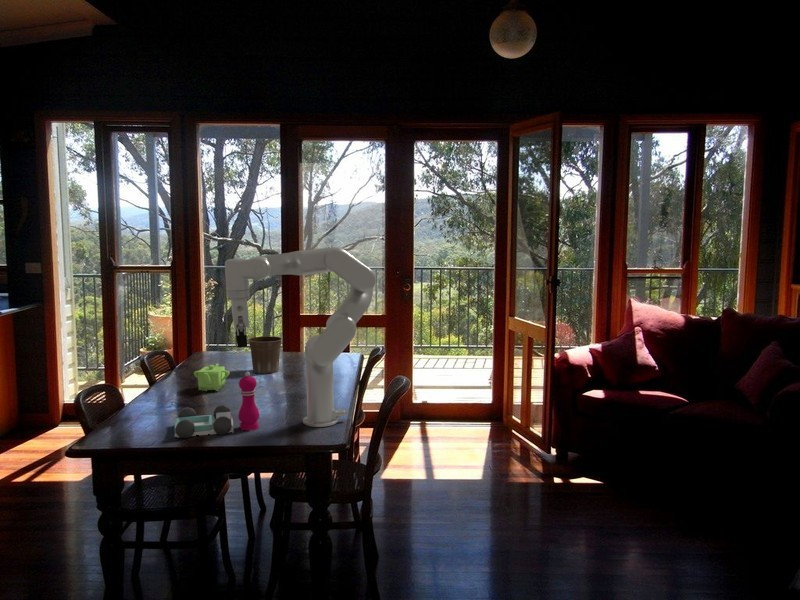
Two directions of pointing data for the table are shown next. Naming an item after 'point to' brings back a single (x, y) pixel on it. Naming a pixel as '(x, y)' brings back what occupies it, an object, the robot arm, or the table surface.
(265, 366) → the plant pot
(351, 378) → the table surface
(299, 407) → the table surface
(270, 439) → the table surface
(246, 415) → the pepper mill
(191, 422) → the chassis
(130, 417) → the table surface
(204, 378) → the teapot
